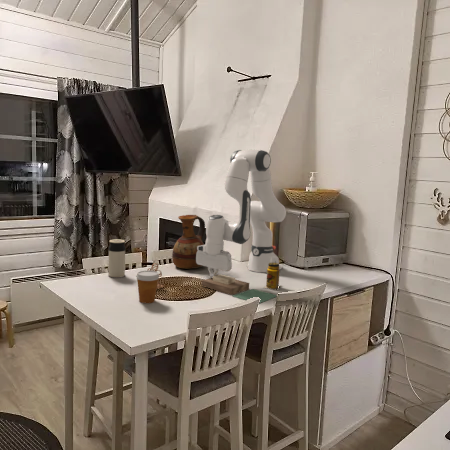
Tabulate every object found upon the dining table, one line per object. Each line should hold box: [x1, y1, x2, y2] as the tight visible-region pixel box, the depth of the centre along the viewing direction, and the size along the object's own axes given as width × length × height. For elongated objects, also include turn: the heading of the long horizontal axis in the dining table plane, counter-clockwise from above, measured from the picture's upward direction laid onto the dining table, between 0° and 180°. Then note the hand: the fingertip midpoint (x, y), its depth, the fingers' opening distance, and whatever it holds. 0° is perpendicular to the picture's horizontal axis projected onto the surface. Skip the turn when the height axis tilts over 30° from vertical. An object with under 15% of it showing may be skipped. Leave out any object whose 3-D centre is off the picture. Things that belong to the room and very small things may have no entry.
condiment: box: [263, 263, 283, 291], centre depth 206 cm, size 7×8×12 cm
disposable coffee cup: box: [135, 270, 160, 304], centre depth 175 cm, size 10×10×12 cm
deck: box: [200, 277, 250, 296], centre depth 201 cm, size 14×18×3 cm
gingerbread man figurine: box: [146, 262, 165, 288], centre depth 193 cm, size 9×4×12 cm, turn 138°
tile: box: [212, 273, 236, 284], centre depth 201 cm, size 6×9×2 cm, turn 52°
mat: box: [232, 288, 277, 304], centre depth 191 cm, size 16×14×1 cm
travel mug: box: [107, 238, 126, 278], centre depth 211 cm, size 8×8×18 cm
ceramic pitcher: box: [171, 214, 206, 270], centre depth 236 cm, size 20×20×30 cm
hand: (212, 276), depth 206 cm, fingers closed
